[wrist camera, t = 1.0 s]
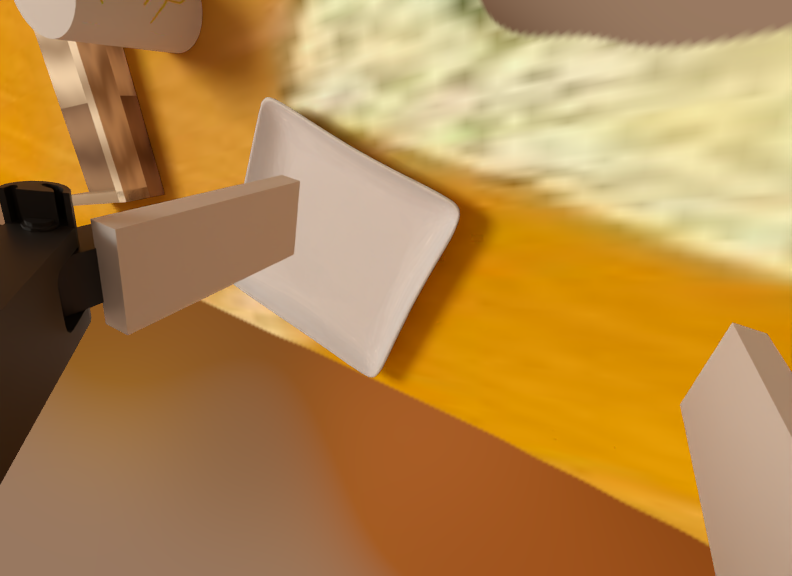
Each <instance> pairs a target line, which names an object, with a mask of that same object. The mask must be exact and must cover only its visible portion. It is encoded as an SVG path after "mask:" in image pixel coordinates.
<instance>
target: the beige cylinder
mask: <svg viewBox="0 0 792 576" xmlns="http://www.w3.org/2000/svg"><path fill="white" fill-rule="evenodd" d="M14 1H15V3H16V5H17V7H18V9H19V11H20V13H21V14H22V16H23V17H24V19H25V20H26V22H27V23H28V24H29V25H30V26H31V27H32V28H33V29H34V30H35V31H36V32H37V33H38V34H40V35H42V36H44V37H46V38H49V39H58V40H66V41H75V42H83V43H92V44H101V45H109V46H118V47H127V48H135V49H144V50H152V51H161V52H170V53H183V52H186V51H187V50H189V49H190V48H191V47H192V46H193V45H194V44H195V42H196V40H197V38H198V36H199V33H200V30H201V25H202V3H201V0H14Z"/></svg>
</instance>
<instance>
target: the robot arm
mask: <svg viewBox="0 0 792 576" xmlns="http://www.w3.org/2000/svg"><path fill="white" fill-rule="evenodd" d="M299 189H300V181H299V180H296V179H293V178H290V177H287V176H284V175H279V176H275V177H270V178H266V179H262V180H257V181H253V182H249V183H244V184H240V185H236V186H231V187H227V188H223V189H218V190H214V191H210V192H205V193H201V194H197V195H192V196H188V197H184V198H179V199H175V200H171V201H166V202H162V203H158V204H153V205H149V206H145V207H140V208H136V209H132V210H127V211H123V212H119V213H114V214H110V215H106V216H101V217H97V218H93V219H91V224H89V225H85V226H81V227H77V226H76V220H75V214H74V208H73V202H72V196H71V190H70V189H69V188H68V187H67V186H65V185H62V184H59V183H53V182H46V181H22V182H13V183H8V184H4V185H1V186H0V204H1V208H2V212H3V216H4V220H5V224H4V225H0V484H1V482H2V480H3V479H4V477H5V475H6V473H7V471H8V470H9V468H10V466H11V464H12V462H13V460H14V459H15V457H16V455H17V453H18V452H19V450H20V448H21V446H22V444H23V443H24V441H25V439H26V437H27V435H28V434H29V432H30V430H31V428H32V426H33V424H34V423H35V421H36V419H37V417H38V416H39V414H40V412H41V410H42V409H43V407H44V405H45V403H46V401H47V399H48V398H49V396H50V394H51V392H52V391H53V389H54V387H55V385H56V383H57V382H58V380H59V378H60V376H61V374H62V373H63V371H64V369H65V367H66V365H67V364H68V362H69V360H70V358H71V356H72V354H73V353H74V351H75V349H76V347H77V346H78V344H79V342H80V340H81V338H82V337H83V335H84V333H85V331H86V329H87V327H88V326H89V324H90V322H91V313H90V307H93V306H95V305H98V304H100V303H103V308H104V314H105V321H106V324H107V325H109V326H111V327H113V328H115V329H117V330H119V331H121V332H123V333H125V334H126V335H129V334H132V333H133V332H136V331H137V330H140V329H142V328H144V327H146V326H148V325H150V324H152V323H154V322H156V321H158V320H160V319H162V318H164V317H166V316H169V315H171V314H173V313H175V312H176V311H179V310H181V309H183V308H185V307H187V306H189V305H191V304H193V303H195V302H197V301H199V300H201V299H203V298H206V297H208V296H210V295H212V294H214V293H216V292H218V291H220V290H222V289H224V288H226V287H228V286H230V285H232V284H234V283H236V282H238V281H240V280H243V279H245V278H247V277H249V276H251V275H253V274H255V273H257V272H259V271H261V270H263V269H265V268H267V267H269V266H271V265H273V264H275V263H277V262H280V261H282V260H284V259H286V258H288V257H290V256H292V255H294V249H295V237H296V225H297V213H298V201H299ZM680 406H681V411H682V416H683V420H684V425H685V430H686V435H687V440H688V444H689V449H690V454H691V459H692V464H693V468H694V473H695V478H696V483H697V488H698V492H699V497H700V502H701V507H702V512H703V516H704V521H705V526H706V531H707V536H708V540H709V545H710V550H711V555H712V560H713V564H714V569H715V574H716V576H792V372H791V371H790V369H789V367H788V366H787V364H786V363H785V361H784V360H783V358H782V356H781V355H780V353H779V352H778V350H777V349H776V347H775V345H774V344H773V342H772V341H771V339H770V338H769V336H768V335H767V334H766V333H763V332H760V331H757V330H754V329H751V328H748V327H744V326H741V325H738V324H735V323H732V324H731V326H730V327H729V329H728V330H727V332H726V333H725V335H724V337H723V338H722V340H721V341H720V343H719V344H718V346H717V348H716V349H715V351H714V352H713V354H712V355H711V357H710V359H709V360H708V362H707V363H706V365H705V366H704V368H703V369H702V371H701V373H700V374H699V376H698V377H697V379H696V380H695V382H694V384H693V385H692V387H691V388H690V390H689V391H688V393H687V395H686V396H685V398H684V399H683V401H682V402H681V404H680Z"/></svg>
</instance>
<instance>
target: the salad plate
mask: <svg viewBox="0 0 792 576" xmlns="http://www.w3.org/2000/svg"><path fill="white" fill-rule="evenodd" d="M279 175H284V176H287V177H290V178H293V179H296V180H299V181H300V189H299V201H298V213H297V225H296V237H295V249H294V255H292V256H290V257H288V258H286V259H284V260H282V261H280V262H277V263H275V264H273V265H271V266H269V267H267V268H265V269H263V270H261V271H259V272H257V273H255V274H253V275H251V276H249V277H247V278H245V279H243V280H240V281H238V282H236V283H234V285H235V286H236V287H238V288H239V289H240V290H242V291H243V292H245V293H246V294H247V295H249V296H250V297H252V298H253V299H255V300H256V301H258V302H259V303H260V304H262V305H263V306H265V307H266V308H268V309H269V310H271V311H272V312H274V313H275V314H276V315H278V316H279V317H281V318H282V319H284V320H285V321H287V322H288V323H290V324H291V325H293V326H294V327H296V328H297V329H299V330H300V331H301V332H303V333H304V334H306V335H307V336H309V337H310V338H312V339H313V340H315V341H316V342H317V343H319V344H320V345H322V346H323V347H325V348H326V349H328V350H329V351H330V352H332V353H333V354H335V355H336V356H338V357H339V358H340V359H342V360H343V361H345V362H346V363H347V364H349V365H350V366H352V367H353V368H355V369H356V370H358V371H359V372H361V373H363V374H364V375H366V376H368V377H375V376H377V375H378V373H379V372H380V371H381V369H382V368H383V366H384V364H385V362H386V360H387V358H388V356H389V354H390V351H391V349H392V347H393V345H394V343H395V341H396V339H397V337H398V335H399V333H400V331H401V329H402V327H403V325H404V323H405V321H406V319H407V317H408V315H409V313H410V311H411V309H412V307H413V305H414V303H415V301H416V299H417V297H418V295H419V293H420V292H421V290H422V288H423V286H424V284H425V283H426V281H427V279H428V277H429V276H430V274H431V272H432V270H433V269H434V267H435V265H436V264H437V262H438V260H439V258H440V257H441V255H442V253H443V252H444V250H445V248H446V247H447V245H448V243H449V242H450V240H451V238H452V236H453V234H454V232H455V229H456V227H457V225H458V222H459V218H460V210H459V208H458V206H457V205H456V204H455V203H454V202H453V201H452V200H450V199H449V198H447V197H445V196H444V195H442V194H440V193H438V192H437V191H435V190H433V189H431V188H429V187H427V186H425V185H423V184H421V183H419V182H417V181H415V180H413V179H411V178H409V177H407V176H405V175H403V174H401V173H399V172H397V171H395V170H394V169H392V168H390V167H388V166H386V165H384V164H382V163H380V162H379V161H377V160H375V159H373V158H371V157H369V156H368V155H366V154H364V153H362V152H360V151H359V150H357V149H355V148H353V147H352V146H350V145H348V144H347V143H345V142H343V141H342V140H340V139H339V138H337V137H335V136H334V135H332V134H331V133H329V132H327V131H326V130H324V129H323V128H321V127H319V126H318V125H316V124H315V123H313V122H312V121H310V120H308V119H307V118H305V117H304V116H302V115H301V114H299V113H298V112H296V111H294V110H293V109H291V108H290V107H288V106H286V105H285V104H283V103H281V102H279V101H278V100H276V99H273V98H271V97H266V98H265V99H264V100H263V101H262V103H261V107H260V110H259V115H258V120H257V124H256V129H255V134H254V139H253V144H252V149H251V153H250V159H249V163H248V168H247V173H246V178H245V182H244V183H249V182H253V181H257V180H262V179H266V178H270V177H275V176H279Z"/></svg>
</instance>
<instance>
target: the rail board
mask: <svg viewBox="0 0 792 576" xmlns="http://www.w3.org/2000/svg"><path fill="white" fill-rule="evenodd" d="M34 31H35V30H34ZM35 34H36V37H37V40H38V43H39V46H40V49H41V52H42V55H43V58H44V61H45V64H46V66H47V69H48V72H49V75H50V78H51V81H52V84H53V87H54V90H55V93H56V96H57V99H58V102H59V104H60V107H61V110H62V113H63V116H64V119H65V122H66V125H67V128H68V131H69V134H70V137H71V140H72V143H73V145H74V148H75V151H76V154H77V157H78V160H79V163H80V166H81V169H82V172H83V175H84V178H85V181H86V184H87V186H88V189H89V192H86V193H80V194H74V195H71V196H72V202H73V206H75V205H90V204H105V203H120V202H129V201H134V200H139V199H144V198H149V197H154V196H159V195H164V190H163V187H162V183H161V180H160V176H159V173H158V169H157V166H156V162H155V159H154V155H153V152H152V148H151V145H150V141H149V138H148V134H147V131H146V127H145V124H144V120H143V117H142V113H141V110H140V106H139V103H138V99H137V96H136V92H135V89H134V85H133V82H132V78H131V75H130V71H129V68H128V64H127V61H126V57H125V54H124V50H123V47H118V46H109V45H101V44H92V43H83V42H75V41H66V40H58V39H49V38H46V37H44V36H42V35H40V34H38V33H37V32H36V31H35Z"/></svg>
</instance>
